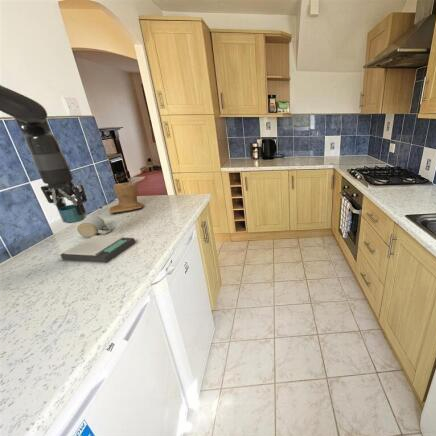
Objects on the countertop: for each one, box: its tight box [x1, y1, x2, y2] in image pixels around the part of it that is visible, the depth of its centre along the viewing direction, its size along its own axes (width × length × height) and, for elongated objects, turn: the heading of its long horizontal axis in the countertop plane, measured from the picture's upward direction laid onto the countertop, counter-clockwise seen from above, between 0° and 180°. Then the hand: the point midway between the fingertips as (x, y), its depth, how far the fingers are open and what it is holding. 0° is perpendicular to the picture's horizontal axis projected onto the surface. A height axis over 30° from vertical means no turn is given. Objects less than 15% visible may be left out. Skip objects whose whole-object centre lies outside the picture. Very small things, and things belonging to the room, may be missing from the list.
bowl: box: [57, 203, 87, 224], centre depth 85 cm, size 6×6×5 cm
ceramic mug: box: [77, 214, 112, 238], centre depth 106 cm, size 11×8×8 cm
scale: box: [60, 235, 136, 263], centre depth 92 cm, size 18×14×3 cm
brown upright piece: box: [108, 182, 144, 214], centre depth 131 cm, size 15×12×15 cm
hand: (73, 214), depth 86 cm, fingers closed on bowl, 6 cm apart
